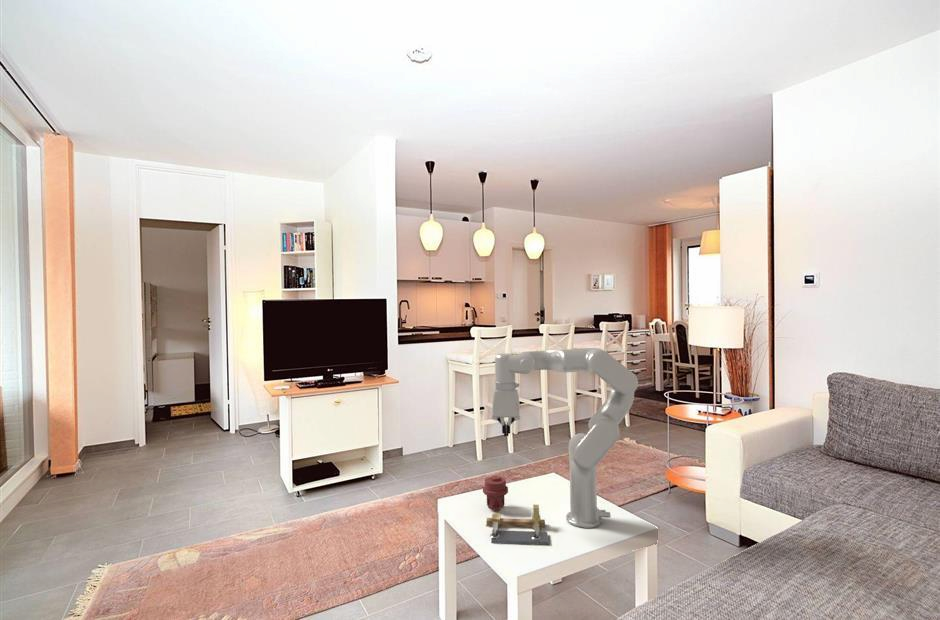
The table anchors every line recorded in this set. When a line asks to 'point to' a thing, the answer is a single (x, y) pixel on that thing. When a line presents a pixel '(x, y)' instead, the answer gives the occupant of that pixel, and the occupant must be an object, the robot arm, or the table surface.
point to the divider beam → (509, 522)
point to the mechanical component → (495, 492)
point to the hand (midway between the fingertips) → (506, 435)
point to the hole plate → (519, 537)
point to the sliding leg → (536, 520)
